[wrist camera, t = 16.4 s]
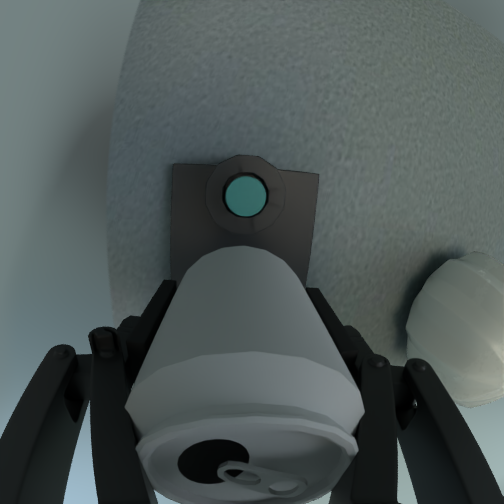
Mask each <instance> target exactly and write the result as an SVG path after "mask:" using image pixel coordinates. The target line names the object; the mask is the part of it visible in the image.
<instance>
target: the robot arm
mask: <svg viewBox="0 0 504 504" xmlns="http://www.w3.org/2000/svg"><path fill="white" fill-rule="evenodd" d="M176 291H177V280H163V282H162V283H161V285H160V287H159V288H158V290H157V291H156V293H155V294H154V296H153V297H152V299H151V301H150V302H149V304H148V305H147V307H146V309H145V310H144V312H143V313H142V315H141V317H139V316H131V315H130V316H129V317H127V318H126V319H124V320H123V321H122V323H121V324H120V327H118V328H117V330H116V329H115V328H112V327H98V328H96V329H94V330H92V331H91V332H90V333H89V335H88V338H89V342H90V346H91V350H92V354H81V355H76V352H75V349H74V348H73V347H71V346H70V345H66V344H65V345H64V344H61V345H57V346H54V347H53V348H51V349H50V350H49V351H48V353H47V354H46V356H45V358H44V359H43V361H42V362H41V364H40V366H39V367H38V369H37V371H36V372H35V374H34V376H33V377H32V379H31V381H30V383H29V384H28V386H27V388H26V389H25V391H24V393H23V395H22V397H21V398H20V401H19V402H18V404H17V406H16V408H15V410H14V412H13V414H12V416H11V418H10V420H9V422H8V424H7V426H6V428H5V430H4V432H3V434H2V436H1V439H0V504H63V501H64V495H65V490H66V485H67V480H68V476H69V472H70V467H71V463H72V459H73V455H74V451H75V447H76V444H77V440H78V436H79V433H80V430H81V426H82V423H83V419H84V416H85V413H86V410H87V407H88V403H89V401H90V424H91V445H92V457H93V468H94V476H95V484H96V491H97V497H98V504H158V502H157V498H156V495H155V492H154V489H153V487H152V485H151V483H150V481H149V479H148V476H147V474H146V472H145V470H144V468H143V465H142V463H141V461H140V458H139V456H138V453H137V451H136V446H137V445H138V442H137V439H136V435H135V432H134V429H133V425H132V421H131V417H130V414H129V413H128V411H127V410H126V409H125V405H126V403H127V400H128V397H129V395H130V393H131V388H132V386H133V383H135V381H136V378H137V376H138V374H139V371H140V369H141V367H142V364H143V362H144V360H145V358H146V355H147V353H148V351H149V349H150V346H151V344H152V342H153V340H154V337H155V335H156V333H157V331H158V329H159V327H160V324H161V322H162V320H163V318H164V316H165V314H166V312H167V309H168V307H169V305H170V303H171V301H172V299H173V297H174V295H175V293H176ZM305 291H306V293H307V295H308V296H309V298H310V300H311V302H312V304H313V305H314V307H315V309H316V311H317V313H318V314H319V316H320V318H321V320H322V322H323V324H324V325H325V327H326V329H327V331H328V333H329V335H330V336H331V338H332V340H333V342H334V344H335V346H336V348H337V349H338V351H339V353H340V355H341V357H342V359H343V361H344V363H345V364H346V366H347V368H348V370H349V372H350V374H351V376H352V378H353V380H354V382H355V384H356V385H357V387H358V389H359V391H360V394H361V398H362V402H363V406H364V410H365V413H364V414H363V416H362V417H361V419H360V421H359V425H358V428H357V431H356V433H355V436H354V438H355V440H356V443H357V446H358V450H359V451H358V452H357V454H356V456H355V457H354V459H353V460H352V462H351V463H350V465H349V467H348V468H347V469H346V470H345V472H344V473H343V474H342V476H341V478H340V479H339V481H338V483H337V484H336V485H335V487H334V488H333V489H332V492H331V496H330V501H329V504H401V503H398V501H397V483H398V450H397V438H398V440H399V444H400V446H401V449H402V453H403V455H404V459H405V462H406V465H407V468H408V472H409V475H410V478H411V481H412V485H413V488H414V492H415V495H416V499H417V503H418V504H504V496H503V495H502V494H501V491H500V489H499V486H498V484H497V482H496V480H495V477H494V475H493V473H492V471H491V469H490V467H489V465H488V463H487V461H486V459H485V457H484V455H483V453H482V451H481V449H480V447H479V445H478V443H477V441H476V440H475V438H474V436H473V434H472V432H471V430H470V429H469V427H468V425H467V423H466V422H465V420H464V418H463V417H462V415H461V413H460V411H459V410H458V408H457V406H456V405H455V403H454V401H453V400H452V398H451V396H450V395H449V393H448V391H447V390H446V388H445V387H444V385H443V384H442V382H441V380H440V379H439V377H438V376H437V374H436V373H435V371H434V370H433V368H432V367H431V365H430V364H429V363H428V362H426V361H425V360H423V359H420V358H411V359H409V360H407V362H406V365H405V367H402V366H392V365H390V362H389V360H388V359H386V358H385V357H383V356H381V355H378V354H374V353H373V352H372V350H371V349H370V347H369V346H368V344H367V343H366V342H365V340H364V339H363V337H361V335H360V333H359V332H358V330H356V329H355V328H353V327H352V326H351V325H350V326H343V325H342V324H341V322H340V320H339V319H338V317H337V316H336V314H335V313H334V311H333V310H332V308H331V307H330V305H329V304H328V302H327V301H326V299H325V298H324V296H323V295H322V293H321V292H320V290H319V289H318V288H306V290H305ZM416 402H417V406H416V404H415V403H416Z"/></svg>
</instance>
